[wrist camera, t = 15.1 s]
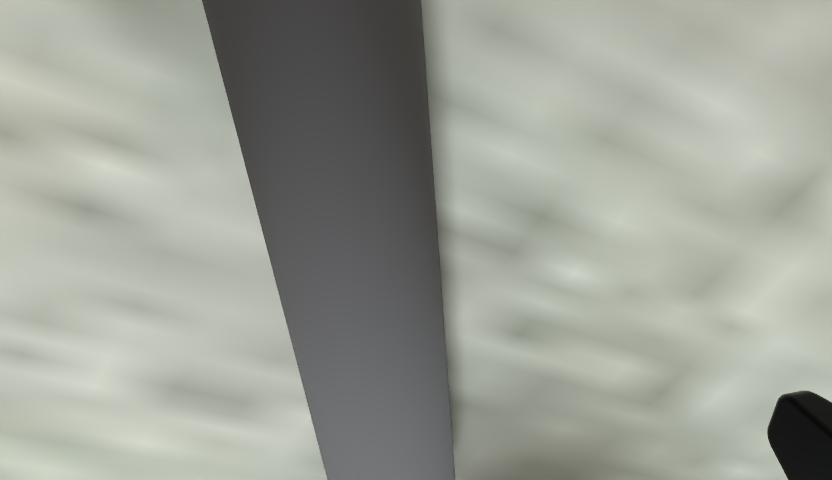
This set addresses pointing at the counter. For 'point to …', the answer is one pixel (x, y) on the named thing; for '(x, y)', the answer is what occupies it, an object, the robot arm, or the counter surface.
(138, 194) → the counter surface
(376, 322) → the grey rounded rod
